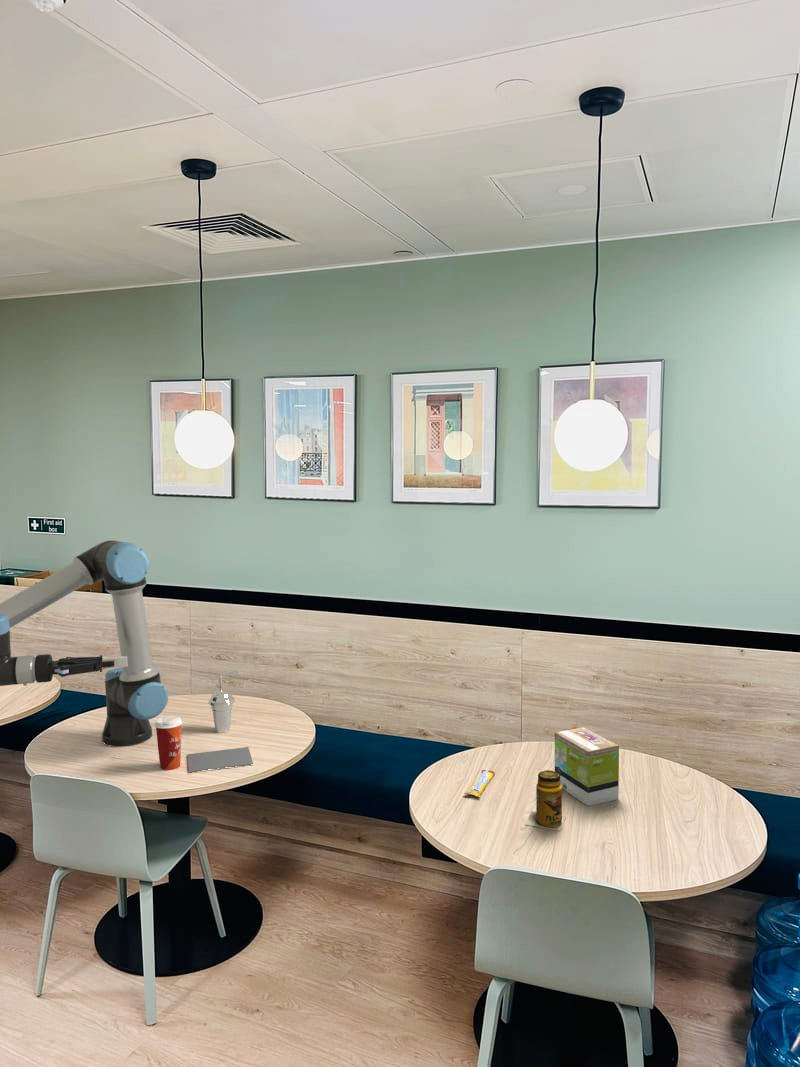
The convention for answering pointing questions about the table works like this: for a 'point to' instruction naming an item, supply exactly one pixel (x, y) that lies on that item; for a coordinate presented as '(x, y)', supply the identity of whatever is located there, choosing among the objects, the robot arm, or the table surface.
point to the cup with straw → (222, 707)
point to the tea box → (587, 765)
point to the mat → (219, 759)
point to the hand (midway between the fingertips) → (127, 661)
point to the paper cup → (169, 741)
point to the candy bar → (481, 783)
